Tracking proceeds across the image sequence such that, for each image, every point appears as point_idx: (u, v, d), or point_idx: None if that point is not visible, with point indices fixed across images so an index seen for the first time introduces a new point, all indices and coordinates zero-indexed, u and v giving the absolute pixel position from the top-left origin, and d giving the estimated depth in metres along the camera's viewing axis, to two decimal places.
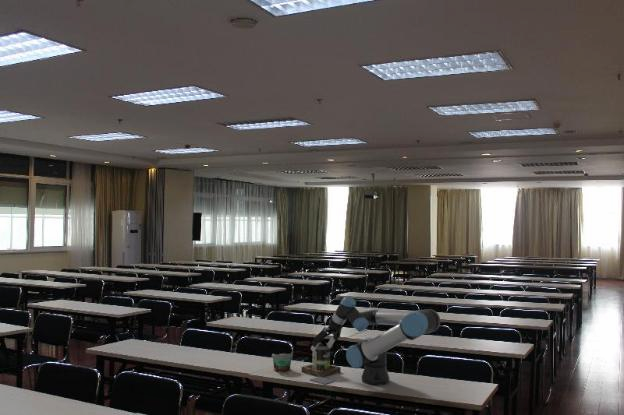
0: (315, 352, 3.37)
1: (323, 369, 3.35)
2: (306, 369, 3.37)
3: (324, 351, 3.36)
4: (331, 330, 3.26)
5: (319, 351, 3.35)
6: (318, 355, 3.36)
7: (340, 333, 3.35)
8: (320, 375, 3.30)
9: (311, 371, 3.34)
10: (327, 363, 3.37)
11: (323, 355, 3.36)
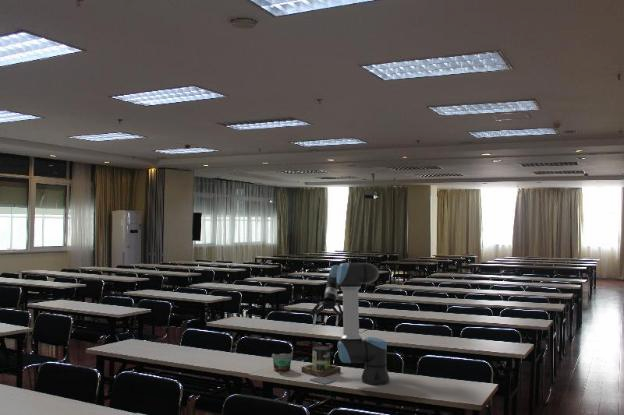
0: (315, 352, 3.37)
1: (323, 369, 3.35)
2: (306, 369, 3.37)
3: (324, 351, 3.36)
4: None
5: (319, 351, 3.35)
6: (318, 355, 3.36)
7: (341, 309, 3.56)
8: (320, 375, 3.30)
9: (311, 371, 3.34)
10: (327, 363, 3.37)
11: (323, 355, 3.36)
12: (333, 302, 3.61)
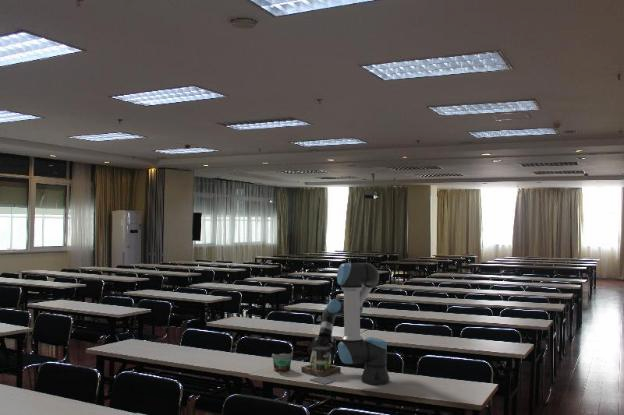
0: (315, 352, 3.37)
1: (323, 369, 3.35)
2: (306, 369, 3.37)
3: (324, 351, 3.36)
4: None
5: (319, 351, 3.35)
6: (318, 355, 3.36)
7: (335, 346, 3.43)
8: (320, 375, 3.30)
9: (311, 371, 3.34)
10: (327, 363, 3.37)
11: (323, 355, 3.36)
12: (329, 338, 3.48)
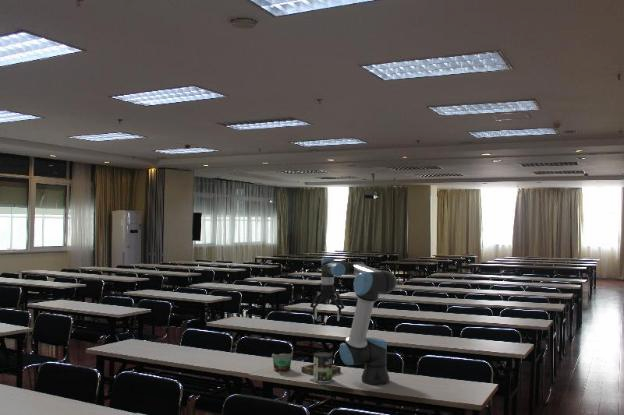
0: (316, 359, 3.19)
1: (325, 377, 3.18)
2: (306, 369, 3.37)
3: (326, 358, 3.18)
4: (323, 294, 3.48)
5: (321, 358, 3.18)
6: (320, 362, 3.18)
7: (341, 302, 3.45)
8: None
9: (311, 371, 3.34)
10: (329, 370, 3.19)
11: (325, 362, 3.18)
12: (331, 293, 3.47)
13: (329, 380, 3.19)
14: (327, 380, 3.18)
